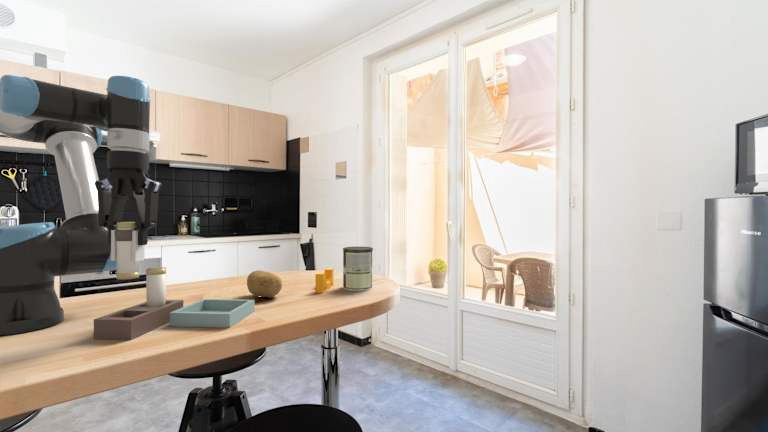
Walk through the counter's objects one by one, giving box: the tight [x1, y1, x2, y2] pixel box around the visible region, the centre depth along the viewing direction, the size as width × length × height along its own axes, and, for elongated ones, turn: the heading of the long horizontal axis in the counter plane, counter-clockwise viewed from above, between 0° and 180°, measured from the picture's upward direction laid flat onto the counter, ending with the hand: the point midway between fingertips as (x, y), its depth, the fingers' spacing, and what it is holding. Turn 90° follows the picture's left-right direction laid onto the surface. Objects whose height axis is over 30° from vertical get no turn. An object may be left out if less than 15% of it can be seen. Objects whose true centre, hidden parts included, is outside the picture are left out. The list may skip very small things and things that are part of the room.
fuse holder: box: [93, 299, 184, 341], centre depth 86 cm, size 8×18×4 cm, turn 177°
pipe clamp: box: [315, 268, 334, 294], centre depth 128 cm, size 12×4×6 cm, turn 172°
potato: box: [246, 270, 283, 299], centre depth 116 cm, size 10×14×8 cm
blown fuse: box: [115, 221, 140, 280], centre depth 82 cm, size 4×4×12 cm
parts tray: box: [169, 298, 256, 329], centre depth 93 cm, size 14×14×3 cm
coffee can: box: [342, 246, 374, 292], centre depth 131 cm, size 10×10×14 cm
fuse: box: [145, 266, 167, 307], centre depth 91 cm, size 4×4×12 cm
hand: (127, 259), depth 82 cm, fingers closed on blown fuse, 4 cm apart
